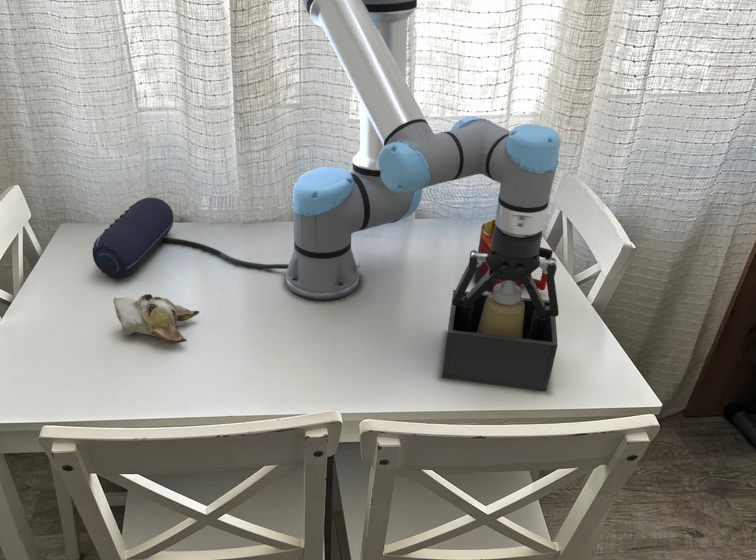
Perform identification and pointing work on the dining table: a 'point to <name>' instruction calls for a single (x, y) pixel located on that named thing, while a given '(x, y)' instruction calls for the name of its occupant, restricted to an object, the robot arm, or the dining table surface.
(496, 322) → the squeeze bottle
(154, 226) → the portable speaker
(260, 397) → the dining table surface
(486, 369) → the bin
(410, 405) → the dining table surface
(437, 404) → the dining table surface
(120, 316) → the ceramic sculpture
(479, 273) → the mug
